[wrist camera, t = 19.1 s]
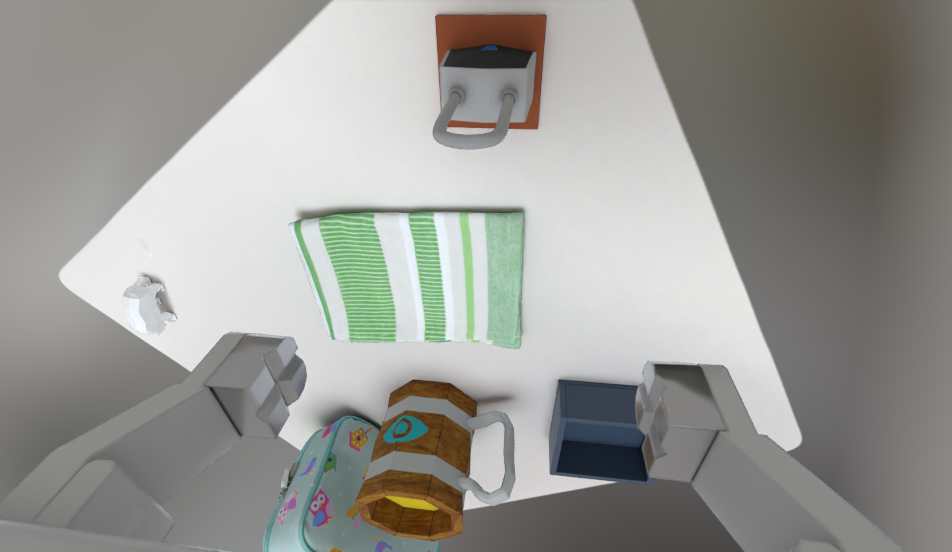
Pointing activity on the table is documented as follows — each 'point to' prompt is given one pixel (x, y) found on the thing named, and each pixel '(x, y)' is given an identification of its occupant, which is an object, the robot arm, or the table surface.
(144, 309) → the figurine
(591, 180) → the table surface
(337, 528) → the lunch box
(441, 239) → the dish towel
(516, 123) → the mat
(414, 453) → the mug
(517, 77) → the padlock
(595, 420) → the basket
